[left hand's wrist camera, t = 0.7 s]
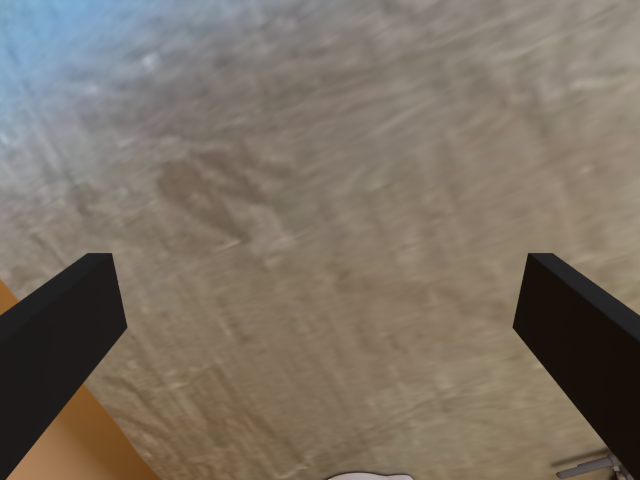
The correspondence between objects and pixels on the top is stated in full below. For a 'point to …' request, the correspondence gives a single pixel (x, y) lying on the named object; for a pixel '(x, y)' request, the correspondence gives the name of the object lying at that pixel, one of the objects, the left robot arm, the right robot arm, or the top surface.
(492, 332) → the top surface
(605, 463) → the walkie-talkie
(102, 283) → the left robot arm
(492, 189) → the top surface
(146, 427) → the top surface
